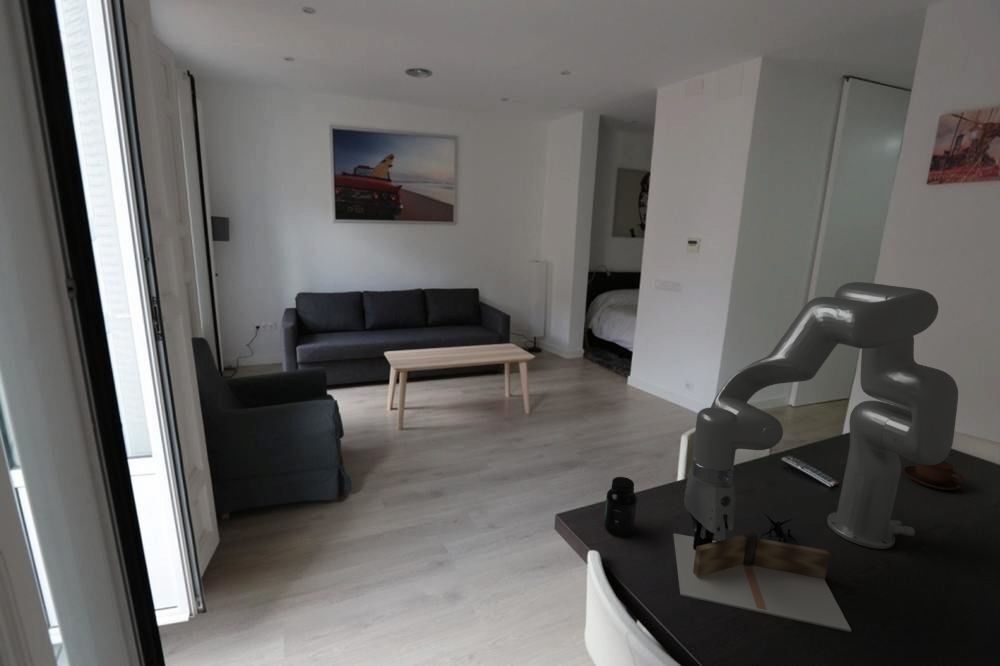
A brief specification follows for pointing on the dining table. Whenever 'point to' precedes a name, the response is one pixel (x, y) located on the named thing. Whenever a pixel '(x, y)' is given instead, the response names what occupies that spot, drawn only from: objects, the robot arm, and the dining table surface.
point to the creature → (778, 530)
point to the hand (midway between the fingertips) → (701, 550)
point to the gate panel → (719, 555)
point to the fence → (785, 556)
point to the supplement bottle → (621, 508)
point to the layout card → (760, 589)
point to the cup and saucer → (935, 476)
